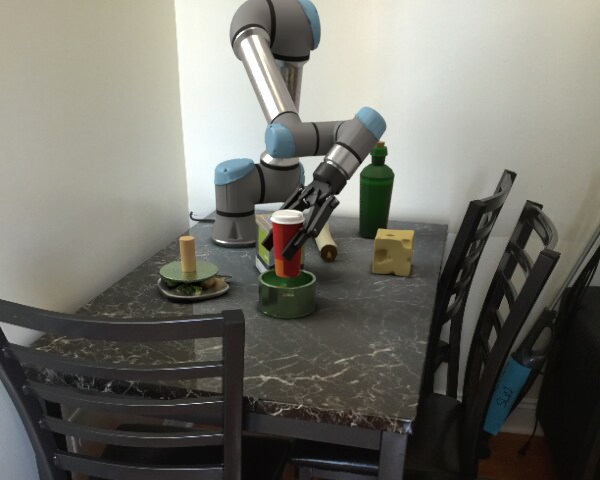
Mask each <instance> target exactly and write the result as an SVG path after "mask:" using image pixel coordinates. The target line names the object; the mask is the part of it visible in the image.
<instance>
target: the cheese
mask: <svg viewBox="0 0 600 480" xmlns="http://www.w3.org/2000/svg"><path fill="white" fill-rule="evenodd" d="M414 247H415V230H414V229H388V228H387V229H378V231H377V235H376V238H374V243H373V255H372V274H377V275H378V274H380V275H390V274H393V275H395V276H400V277H410V273H411V265H412V259H413V254H414Z"/></svg>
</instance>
